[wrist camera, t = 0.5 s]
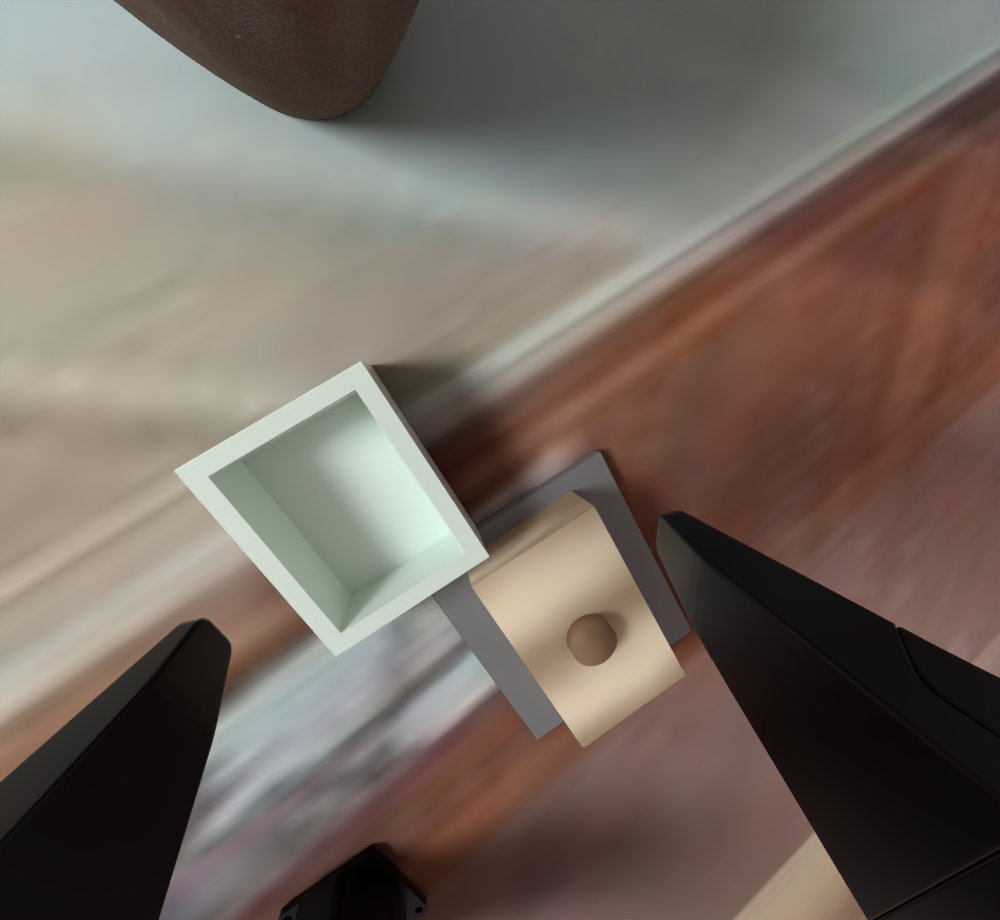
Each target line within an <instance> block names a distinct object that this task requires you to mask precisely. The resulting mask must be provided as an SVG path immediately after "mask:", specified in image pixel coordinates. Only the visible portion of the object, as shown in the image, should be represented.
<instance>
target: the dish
mask: <svg viewBox="0 0 1000 920" xmlns="http://www.w3.org/2000/svg"><path fill="white" fill-rule="evenodd" d="M174 472H175V473H176V474H177V475H178V476H179V477H180V479H181V480H182V481H183V482H184V483H185V484H186V485H187V487H188V488H189V489H190V490H191V491H192V492H193V493H194V495H195V496H196V497H197V498H198V499H199V500H200V501H201V503H202V504H203V505H204V506H205V507H206V508H207V509H208V511H209V512H210V513H211V514H212V515H213V516H214V518H215V519H216V520H217V521H218V522H219V523H220V524H221V526H222V527H223V528H224V529H225V530H226V531H227V532H228V534H229V535H230V536H231V537H232V538H233V539H234V540H235V542H236V543H237V544H238V545H239V546H240V547H241V549H242V550H243V551H244V552H245V553H246V554H247V555H248V557H249V558H250V559H251V560H252V561H253V562H254V563H255V565H256V566H257V567H258V568H259V569H260V570H261V571H262V573H263V574H264V575H265V576H266V577H267V578H268V580H269V581H270V582H271V583H272V584H273V585H274V586H275V588H276V589H277V590H278V591H279V592H280V593H281V594H282V596H283V597H284V598H285V599H286V600H287V601H288V602H289V604H290V605H291V606H292V607H293V608H294V609H295V611H296V612H297V613H298V614H299V615H300V616H301V617H302V619H303V620H304V621H305V622H306V623H307V624H308V625H309V627H310V628H311V629H312V630H313V631H314V632H315V633H316V635H317V636H318V637H319V638H320V639H321V640H322V642H323V643H324V644H325V645H326V646H327V647H328V648H329V650H330V651H331V652H332V653H333V654H334V655H335V656H338V655H339V654H341V653H342V652H344V651H345V650H347V649H349V648H350V647H352V646H353V645H355V644H356V643H358V642H359V641H361V640H362V639H364V638H365V637H367V636H369V635H370V634H372V633H373V632H375V631H376V630H378V629H379V628H381V627H382V626H384V625H385V624H387V623H389V622H390V621H392V620H393V619H395V618H396V617H398V616H399V615H401V614H402V613H404V612H405V611H407V610H408V609H410V608H412V607H413V606H415V605H416V604H418V603H419V602H421V601H422V600H424V599H425V598H427V597H428V596H430V595H432V594H433V593H435V592H436V591H438V590H439V589H441V588H442V587H444V586H445V585H447V584H448V583H450V582H452V581H453V580H455V579H456V578H458V577H459V576H461V575H462V574H464V573H465V572H467V571H468V570H470V569H472V568H473V567H475V566H476V565H478V564H479V563H481V562H482V561H484V560H485V559H487V558H488V557H489V554H488V552H487V550H486V548H485V545H484V543H483V541H482V539H481V536H480V534H479V532H478V530H477V527H476V526H475V524H474V522H473V521H472V519H471V518H470V516H469V515H468V513H467V512H466V510H465V509H464V507H463V506H462V504H461V502H460V501H459V499H458V498H457V496H456V495H455V493H454V492H453V490H452V489H451V487H450V486H449V484H448V483H447V481H446V479H445V478H444V476H443V475H442V473H441V472H440V470H439V469H438V467H437V466H436V464H435V463H434V461H433V459H432V458H431V456H430V455H429V453H428V452H427V450H426V449H425V447H424V446H423V444H422V443H421V441H420V440H419V438H418V436H417V435H416V433H415V432H414V430H413V429H412V427H411V426H410V424H409V423H408V421H407V420H406V418H405V416H404V415H403V413H402V412H401V410H400V409H399V407H398V406H397V404H396V403H395V401H394V400H393V398H392V397H391V395H390V393H389V392H388V390H387V389H386V387H385V386H384V384H383V383H382V381H381V380H380V378H379V377H378V375H377V373H376V372H375V370H374V369H373V367H372V366H371V365H369V364H367V363H365V362H362V361H360V362H358V363H357V364H355V365H353V366H352V367H350V368H348V369H346V370H345V371H343V372H341V373H340V374H338V375H336V376H334V377H333V378H331V379H329V380H328V381H326V382H324V383H322V384H321V385H319V386H317V387H316V388H314V389H312V390H311V391H309V392H307V393H305V394H304V395H302V396H300V397H299V398H297V399H295V400H293V401H292V402H290V403H288V404H287V405H285V406H283V407H281V408H280V409H278V410H276V411H275V412H273V413H271V414H269V415H268V416H266V417H264V418H263V419H261V420H259V421H257V422H256V423H254V424H252V425H251V426H249V427H247V428H245V429H244V430H242V431H240V432H239V433H237V434H235V435H233V436H232V437H230V438H228V439H227V440H225V441H223V442H221V443H220V444H218V445H216V446H215V447H213V448H211V449H209V450H208V451H206V452H204V453H203V454H201V455H199V456H197V457H196V458H194V459H192V460H191V461H189V462H187V463H185V464H184V465H182V466H180V467H179V468H177V469H175V470H174Z"/></svg>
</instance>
